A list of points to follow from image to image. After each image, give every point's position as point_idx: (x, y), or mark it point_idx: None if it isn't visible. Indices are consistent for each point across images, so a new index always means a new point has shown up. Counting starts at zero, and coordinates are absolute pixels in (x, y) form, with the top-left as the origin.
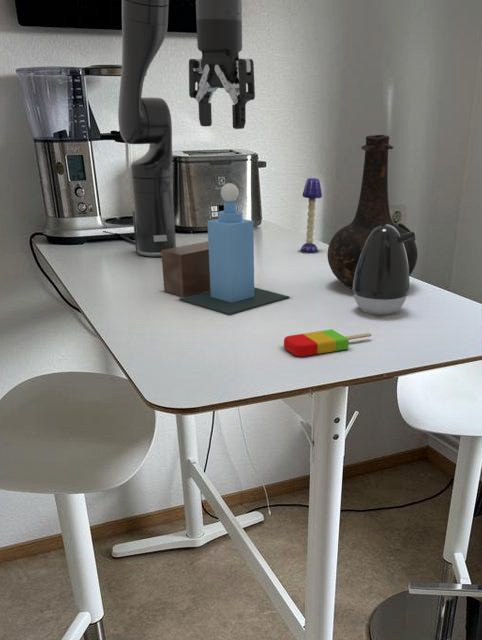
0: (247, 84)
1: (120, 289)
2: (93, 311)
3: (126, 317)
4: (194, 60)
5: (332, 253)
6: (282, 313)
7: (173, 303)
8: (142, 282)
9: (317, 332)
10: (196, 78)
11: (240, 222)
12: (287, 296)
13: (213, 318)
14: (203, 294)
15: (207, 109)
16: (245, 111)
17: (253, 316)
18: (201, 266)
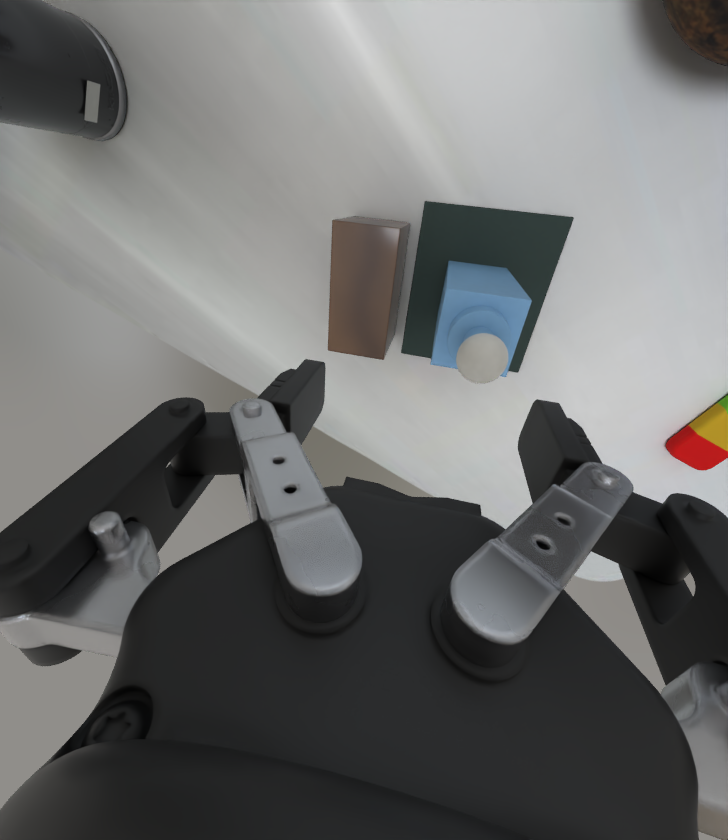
0: (695, 581)
1: (290, 356)
2: (350, 444)
3: (400, 443)
4: (61, 647)
5: (712, 39)
6: (600, 315)
7: (405, 369)
8: (278, 305)
9: (723, 419)
10: (161, 524)
11: (512, 338)
12: (570, 221)
13: (504, 394)
14: (417, 312)
15: (301, 413)
16: (597, 456)
17: (557, 356)
18: (394, 303)
